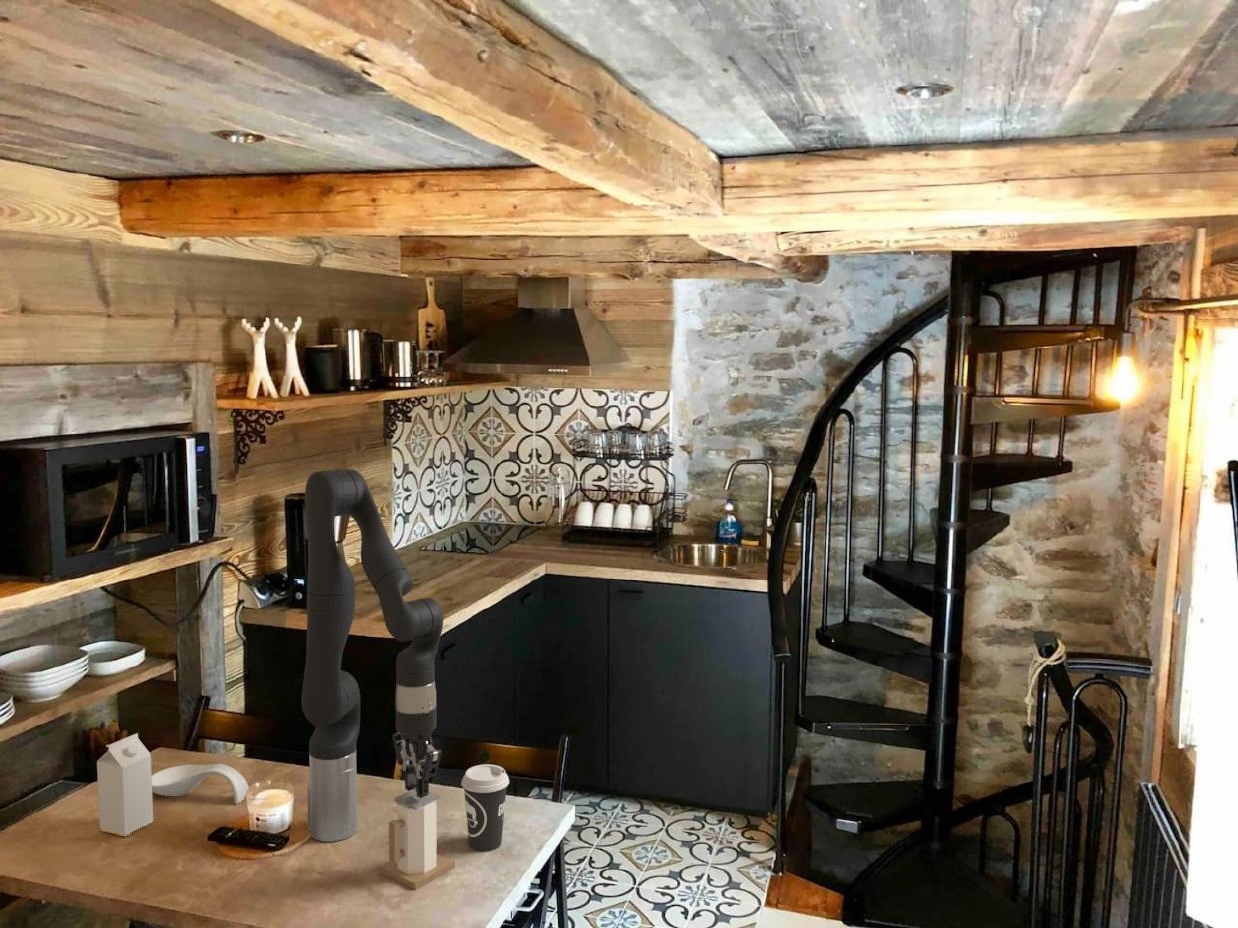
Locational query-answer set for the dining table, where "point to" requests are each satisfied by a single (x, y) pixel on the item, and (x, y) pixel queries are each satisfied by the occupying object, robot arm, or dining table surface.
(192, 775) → the spoon rest
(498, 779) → the coffee cup
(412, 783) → the plunger
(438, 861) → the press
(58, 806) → the dining table surface
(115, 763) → the milk carton
